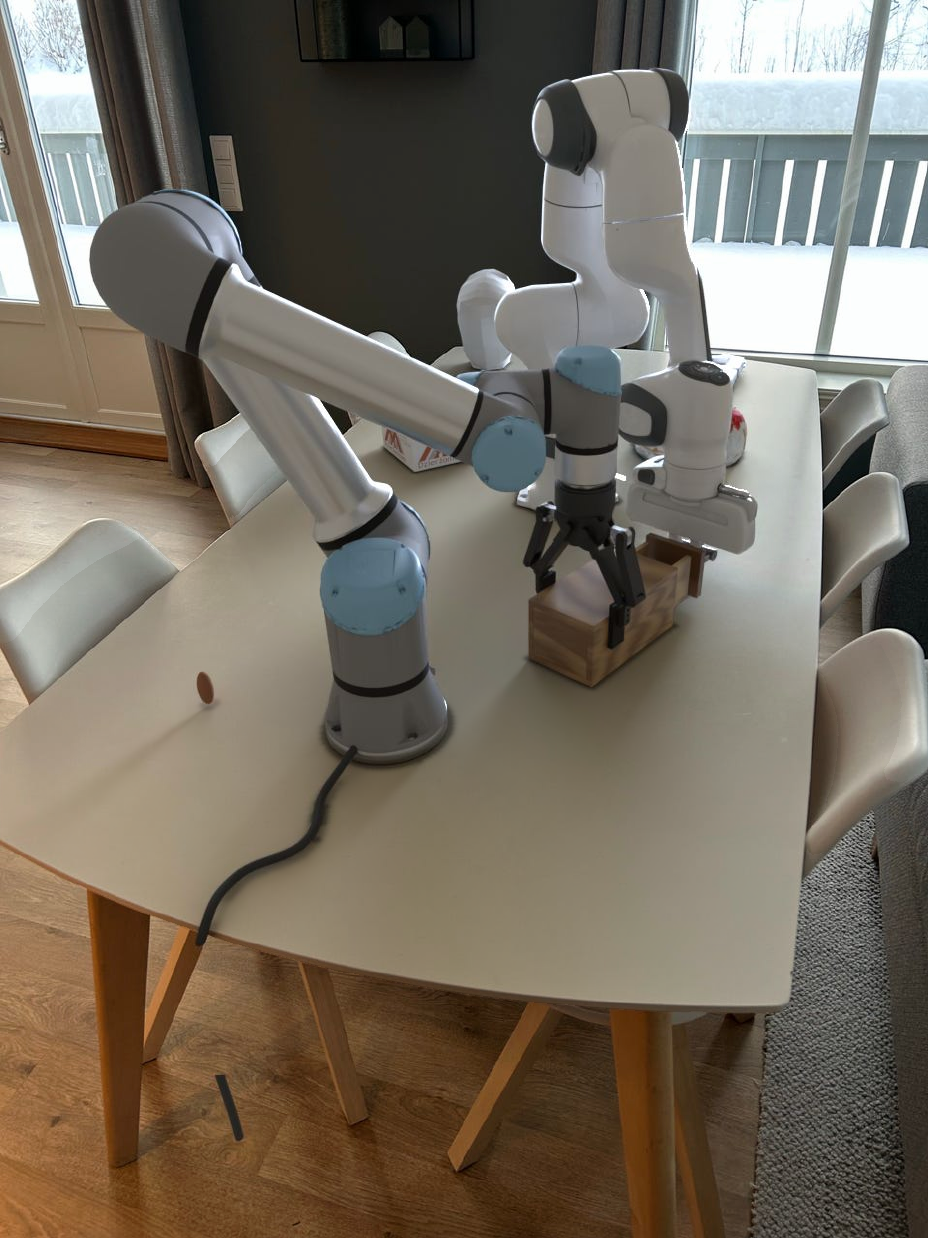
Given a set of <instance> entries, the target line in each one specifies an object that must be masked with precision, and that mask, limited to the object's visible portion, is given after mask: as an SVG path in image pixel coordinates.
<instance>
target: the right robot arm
mask: <svg viewBox="0 0 928 1238" xmlns="http://www.w3.org/2000/svg"><path fill="white" fill-rule="evenodd" d="M690 119H691V97H690V92H689V90H688V87H687V84H686V82H685V80H684V78H683V77H682V76H681V74H679V73H678V72H676V71H675V70H674V71H673V70H671V69H667V68H659V67H652V68H649V69H647V70H646V69H619V70H609V71H607V72H604V73H599V74H593V75H588V76H583V77H580V78H577V79H573V80H571V79H567V78H566V79H563V80H559V81H556V82H553V83H551V84H549V85H546V86H545V87H544V88H542V90H541V91H540V92H539V94H538V96H537V98H536V99H535V102H534V105H533V108H532V115H531V133H532V140H533V145H534V147H535V150H536V153H537V155H538V156H539V157H540V158H541V160H543V161H544V162H545V167H544V173H543V175H544V176H543V184H542V206H541V207H542V209H541V233H540V234H541V235H540V237H541V238H540V239H541V240H540V241H541V245H542V248H543V250H544V252H545V254H546V255H547V256H548V257H549V258H550V259H551V260H553V261H554V262H555V263H557V264H559V265H561V266H563V267H565V268H567V269H569V270H571V271H573V272H575V273H576V279H575V280H574V281H572V282H565V283H549V284H547V283H546V284H532V285H528V286H524V287H520V288H515V290H513V291H510V292H506V293H505V294H504V296H503V297H502V298H501V300H500V301H499V303H498V306H497V308H496V311H495V318H494V325H495V331H496V334H497V336H498V339H499V340H500V342H501V343H502V345H503V346H504V347H505V348H506V349H507V350H508V351H510V352H511V353H512V354H513V355H514V356H515V357H516V358H518V360H519V361H520V362H521V363H522V364H523V365H524V366H525V367H526V370H538V369H548V368H555V363H556V358H557V355H558V353H559V352H560V351H561V350H563V349H565V348H568V347H577V346H579V345H596V346H603V347H607V348H610V349H612V350H614V349H618V348H622V347H625V346H629V345H632V344H634V343H635V344H636V343H637V342H638V341H639V340H640V339H641V338H642V336H643V335H644V334H645V331H646V329H647V328H648V324H649V320H650V305H649V300H648V298H647V296H646V294H645V292H647V293H649V294H650V295H652V296H653V297H654V298H655V299H656V300H657V302H658V303H659V305H660V306H661V310H662V312H663V319H664V325H665V333H666V341H667V348H668V355H669V359H668V363H667V365H666V367H665V368H664V369H663V370H659V371H657V372H654V373H650V374H646V375H643V376H640V377H638V378H635V379H631V380H630V381H627V382H625V383H623V384H621V391H622V395H621V404H620V419H619V434H618V436H620V437H621V438H622V439H623V440H625V442H627V443H629V444H631V445H634V444H635V445H641V446H652V447H655V446H660V447H662V448H663V449H664V455H661V456H656V457H653V458H651V459H649V460H647V461H646V460H644V461H643V462H641V463H639V464H638V465H636V466H634V468H632V472H631V476H632V479H633V481H632V482H631V483H630V485H629V487H628V491H627V499H626V510H625V511H626V515H627V516H628V518H629V520H630V521H632V522H636V523H639V524H642V525H644V526H648V527H651V528H653V529H657V530H660V531H664V532H666V533H668V538H669V539H672V540H675V541H678V542H682V543H683V541H682V539H683V538H685V539H688V540H689V541H690V545H692V546H694V547H697V548H701V547H702V546H705V545H706V546H710V547H711V548H712V547H713V548H715V549H719V550H722V551H724V552H725V551H726V552H729V553H731V554H733V555H741V554H743V553H744V552H746V551H748V550H749V549H750V548H752V546H753V545H754V543H755V541H756V539H755V538H756V518H757V513H758V509H759V507H758V501H757V500H756V499H755V497H754V496H753V495H751V493H750V492H749V491H747V490H744V489H738V488H735V487H732V486H731V485H726V484H725V478H726V470H727V466H726V462H727V453H726V440H727V437H728V435H729V433H730V428H731V420H732V408H734V407H733V404H734V389H733V386H732V382H731V378H730V376H729V374H728V372H727V371H726V370H725V369H723V368H722V367H721V366H719V365H717V364H715V363H713V359H712V349H711V348H712V347H711V341H710V340H711V339H710V332H709V321H708V316H707V315H708V314H707V306H706V298H705V297H706V296H705V290H704V289H705V288H704V282H703V278H702V273H701V270H700V265H699V264H698V261H697V259H696V258H695V256H694V255H693V253H692V251H691V246H690V243H689V238H688V232H687V231H688V230H687V220H686V219H687V217H686V194H685V181H684V174H683V168H682V161H681V155H680V150H679V147H678V144H679V143H680V142H681V141H682V140H683V137H684V136H685V133H686V131H687V129H688V126H689V123H690ZM555 438H556V434H549V435H545V439H546V461H545V466H544V469H543V471H542V473H541V474H540V476H539V477H538V478H537V480H536V481H535V482H534V483H533V484H531V485H530V486H529V487H527V488H525V489H523V490H520V491H518V495H517V498H516V505H517V506H520V507H523V508H528V509H531V510H533V511H535V512H536V507H538V506H540V505H542V504H544V503H546V502H548V501H552V502H553V503H554V494H555V479H556V478H557V477H556V476H555V473H554V471H555ZM635 445H634V446H635ZM615 478H616V479H619V480H620V481H626V479H627V476H625V475H623V474H619V473H616V476H615ZM619 501H620V500H619V494H618V493H617V492H616V498H615V503H617V502H619ZM554 506H555V504H554Z"/></svg>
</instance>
